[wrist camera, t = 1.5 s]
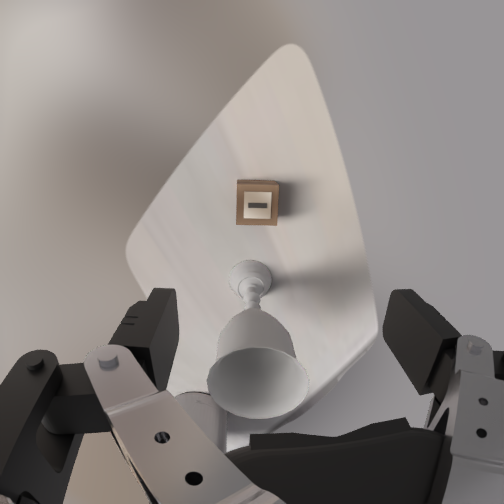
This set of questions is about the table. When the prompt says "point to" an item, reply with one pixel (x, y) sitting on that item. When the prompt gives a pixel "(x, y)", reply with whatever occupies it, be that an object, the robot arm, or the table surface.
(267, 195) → the walnut cube
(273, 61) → the table surface
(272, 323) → the chalice
